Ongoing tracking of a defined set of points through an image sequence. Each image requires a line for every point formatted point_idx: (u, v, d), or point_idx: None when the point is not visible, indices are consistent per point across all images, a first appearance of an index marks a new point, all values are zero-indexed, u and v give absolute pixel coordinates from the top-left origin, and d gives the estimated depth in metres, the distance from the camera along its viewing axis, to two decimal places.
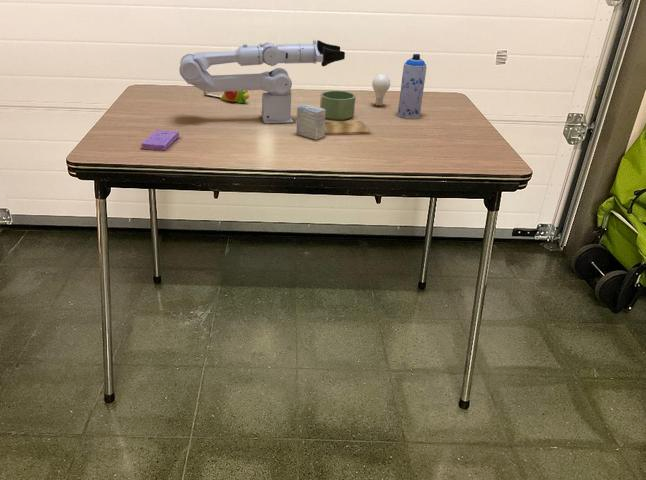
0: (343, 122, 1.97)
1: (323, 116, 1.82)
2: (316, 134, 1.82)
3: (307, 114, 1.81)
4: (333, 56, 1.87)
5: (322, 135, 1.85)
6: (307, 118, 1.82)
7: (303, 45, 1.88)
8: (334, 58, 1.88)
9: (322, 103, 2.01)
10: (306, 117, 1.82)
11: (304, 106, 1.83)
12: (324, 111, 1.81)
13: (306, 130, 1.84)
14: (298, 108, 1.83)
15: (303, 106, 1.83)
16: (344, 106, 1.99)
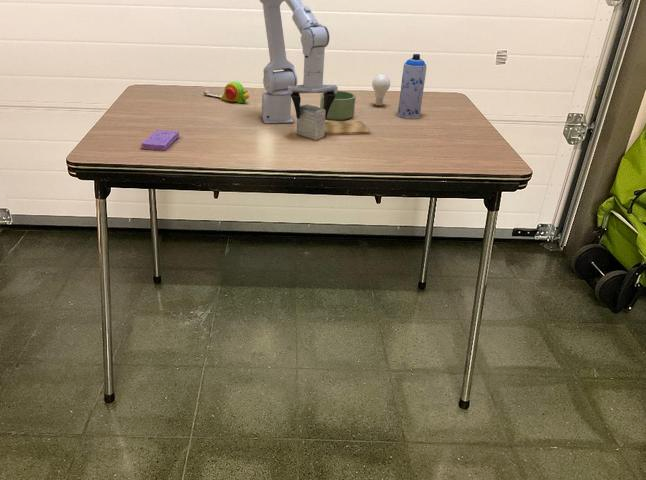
0: (343, 122, 1.97)
1: (323, 116, 1.82)
2: (316, 134, 1.82)
3: (307, 114, 1.81)
4: None
5: (322, 135, 1.85)
6: (307, 118, 1.82)
7: (311, 77, 1.75)
8: (296, 106, 1.82)
9: (322, 103, 2.01)
10: (306, 117, 1.82)
11: (304, 106, 1.83)
12: (324, 111, 1.81)
13: (306, 130, 1.84)
14: None
15: (303, 106, 1.83)
16: (344, 106, 1.99)
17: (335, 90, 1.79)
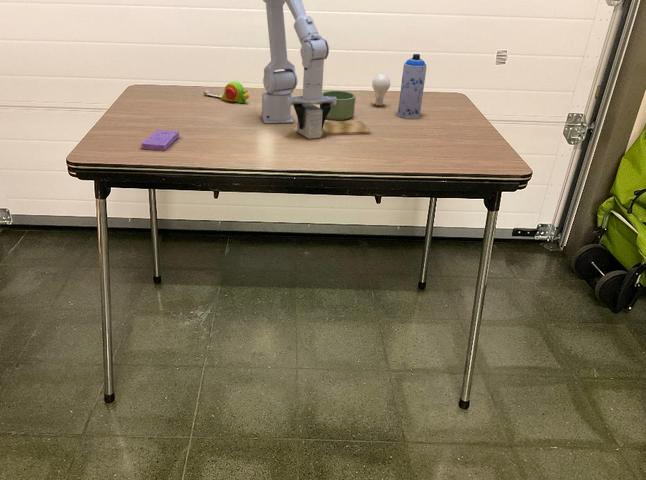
0: (343, 122, 1.97)
1: (319, 116, 1.81)
2: (310, 133, 1.83)
3: (304, 112, 1.82)
4: None
5: (318, 135, 1.84)
6: (304, 117, 1.83)
7: (311, 88, 1.77)
8: None
9: None
10: (304, 115, 1.83)
11: None
12: (321, 111, 1.81)
13: (303, 129, 1.85)
14: None
15: None
16: (344, 106, 1.99)
17: (334, 101, 1.81)
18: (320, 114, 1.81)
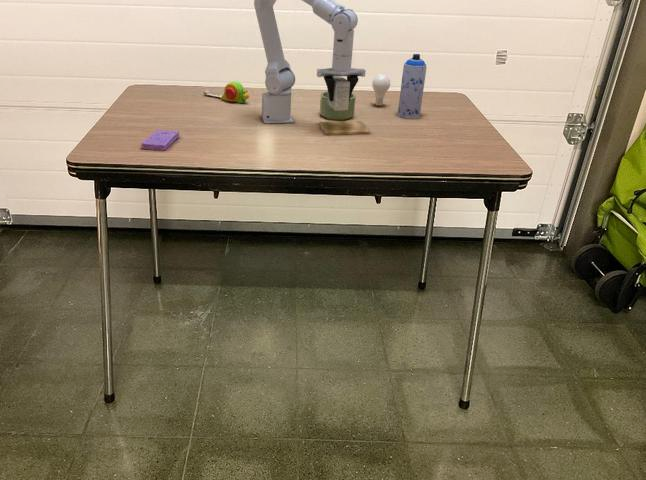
0: (343, 122, 1.97)
1: (346, 88, 1.83)
2: (336, 105, 1.85)
3: None
4: None
5: (344, 108, 1.86)
6: None
7: (340, 60, 1.78)
8: (329, 89, 1.86)
9: (322, 103, 2.01)
10: None
11: (335, 77, 1.87)
12: (348, 83, 1.83)
13: (331, 101, 1.88)
14: None
15: (334, 77, 1.87)
16: None
17: (363, 73, 1.83)
18: (347, 86, 1.83)
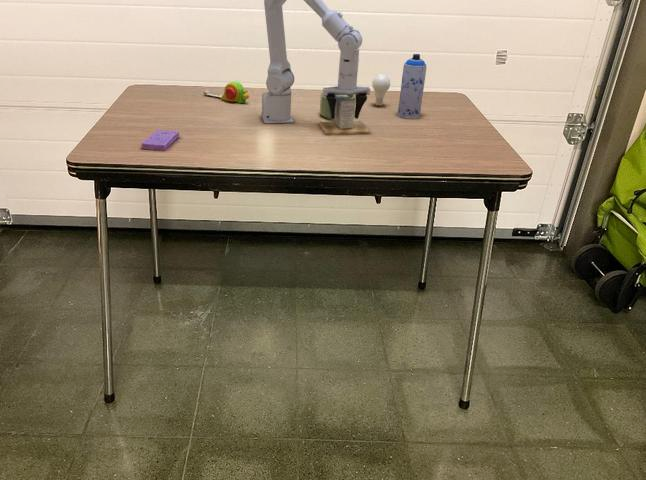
0: None
1: (351, 107, 1.88)
2: (341, 123, 1.90)
3: (338, 103, 1.89)
4: None
5: (350, 126, 1.91)
6: (337, 107, 1.90)
7: (346, 79, 1.83)
8: (331, 107, 1.90)
9: (322, 103, 2.01)
10: (337, 106, 1.90)
11: (340, 96, 1.92)
12: (353, 102, 1.87)
13: (336, 119, 1.92)
14: None
15: (339, 96, 1.92)
16: None
17: (368, 92, 1.88)
18: (352, 105, 1.87)
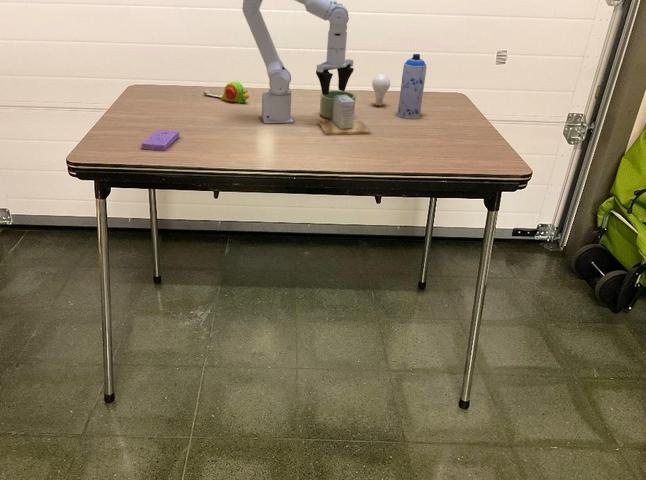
0: None
1: (351, 107, 1.88)
2: (341, 123, 1.90)
3: (338, 103, 1.89)
4: (324, 82, 1.90)
5: (350, 126, 1.91)
6: (337, 107, 1.90)
7: (340, 53, 1.85)
8: (322, 83, 1.90)
9: (322, 103, 2.01)
10: (337, 106, 1.90)
11: (340, 96, 1.92)
12: (353, 102, 1.87)
13: (336, 119, 1.92)
14: (334, 97, 1.92)
15: (339, 96, 1.92)
16: None
17: (352, 63, 1.93)
18: (352, 105, 1.87)
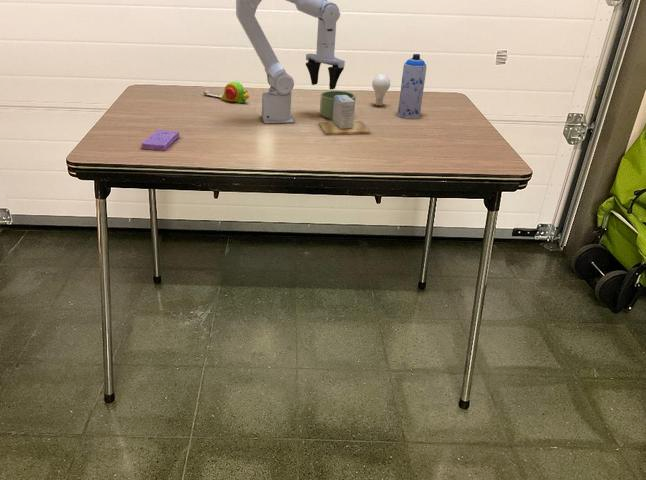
0: None
1: (351, 107, 1.88)
2: (341, 123, 1.90)
3: (338, 103, 1.89)
4: (334, 77, 1.94)
5: (350, 126, 1.91)
6: (337, 107, 1.90)
7: None
8: (332, 79, 1.94)
9: (322, 103, 2.01)
10: (337, 106, 1.90)
11: (340, 96, 1.92)
12: (353, 102, 1.87)
13: (336, 119, 1.92)
14: (334, 97, 1.92)
15: (339, 96, 1.92)
16: None
17: None
18: (352, 105, 1.87)
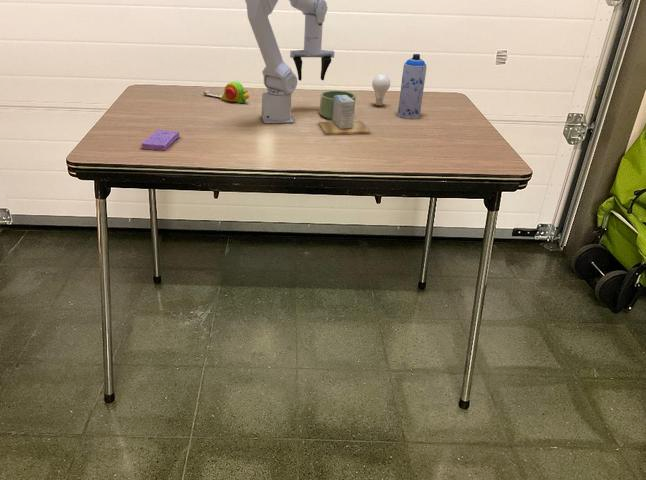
0: None
1: (351, 107, 1.88)
2: (341, 123, 1.90)
3: (338, 103, 1.89)
4: None
5: (350, 126, 1.91)
6: (337, 107, 1.90)
7: None
8: None
9: (322, 103, 2.01)
10: (337, 106, 1.90)
11: (340, 96, 1.92)
12: (353, 102, 1.87)
13: (336, 119, 1.92)
14: (334, 97, 1.92)
15: (339, 96, 1.92)
16: None
17: None
18: (352, 105, 1.87)
